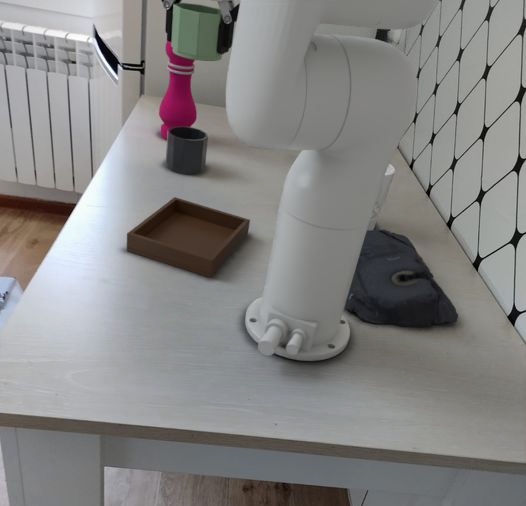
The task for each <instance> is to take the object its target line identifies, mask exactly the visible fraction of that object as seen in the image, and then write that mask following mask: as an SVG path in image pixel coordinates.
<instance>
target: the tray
mask: <svg viewBox="0 0 526 506" xmlns="http://www.w3.org/2000/svg"><path fill="white" fill-rule="evenodd" d="M250 222H251V220H250V219H248V218H245V217H242V216H238V215H235V214H232V213H229V212H225V211H222V210H219V209H215V208H212V207H209V206H205V205H203V204H199V203H195V202H193V201H189V200H186V199H181V198H178V197H172V198H171V199H170V200H168V201H167V202H166V203H165V204H164V205H162V206H161V207H160V208H158V209H157V210H156V211H155V212H153V213H152V214H151V215H149V216H148V217H147V218H145V219H143V221H141V222H140V223H139V224H138V225H136V226H135V227H134V228H132V229H131V230H130V231H129V232H126V251H127V252H130V253H133V254H136V255H138V256H142V257H145V258H148V259H151V260H154V261H158V262H161V263H163V264H167V265H169V266H173V267H176V268H179V269H182V270H185V271H188V272H192V273H194V274H198V275H200V276H204V277H207V278H212V276H213V275H214V274H215V273H216V272H217V271H218V270H219V268H220V267H221V266H223V264H224V263H225V262H226V261H227V259H228V258H229V257H230V256H231V255H232V254H233V252H235V250H236V249H237V248H238V247H239V246H240V245H241V244H242V242H243V241H244V240H246V238H247V237H248V234H249V230H250V229H249V228H250V224H251V223H250Z"/></svg>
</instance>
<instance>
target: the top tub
mask: <svg viewBox="0 0 526 506" xmlns="http://www.w3.org/2000/svg"><path fill="white" fill-rule="evenodd" d="M222 21H223V17H222V14H221V11H220V8H219V7H213V6H209V5H205V4H200V3H199V4H198V3H189V2H181V3H178V4H173V21H172V40H171V46H172V47H173V53H175V54H176V55H179V56H181V57H184V58H188V59H193V60H195V61H201V62H218V61H221V60H222V57H223V55H224V54H218V52H217V41H218V30H219V24H220V23H221V22H222Z"/></svg>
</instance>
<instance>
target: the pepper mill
mask: <svg viewBox="0 0 526 506" xmlns="http://www.w3.org/2000/svg"><path fill="white" fill-rule="evenodd" d="M164 48H165V53H166V56H167V57H168V59H169V60H168V61H167V66H166V69H167V71H169V72H168V74H169V80H168V86H167V89H166V91H165V94H164V96H163V98H162V99H161V102H160V105H159V107H158V108H159V109H158V115H159V118H160V120H161V122H162V124H161V125H160V136H161V137H162V138H163V139H165V140H167V132H168V129H170V128H171V127H177V126H186V127H193V125H194V124H195V123H196V121H197V113H198V112H197V107H196V106H197V105H196V103H195V100H194V98H193V97H194V96H193V94H192V88H191V87H192V76H193V75H194V73H195V67H196V65H195V64H194V62H195V61H196V60H193V59H188V58H184V57H181V56H179V55H176V54H175V53H173V47H172V46H171V42H169V41H167V40H166V42H165V47H164Z"/></svg>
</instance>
